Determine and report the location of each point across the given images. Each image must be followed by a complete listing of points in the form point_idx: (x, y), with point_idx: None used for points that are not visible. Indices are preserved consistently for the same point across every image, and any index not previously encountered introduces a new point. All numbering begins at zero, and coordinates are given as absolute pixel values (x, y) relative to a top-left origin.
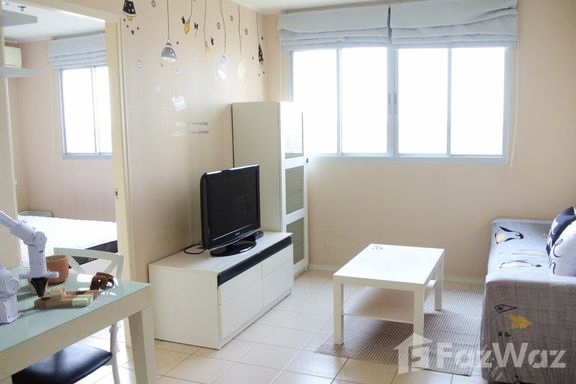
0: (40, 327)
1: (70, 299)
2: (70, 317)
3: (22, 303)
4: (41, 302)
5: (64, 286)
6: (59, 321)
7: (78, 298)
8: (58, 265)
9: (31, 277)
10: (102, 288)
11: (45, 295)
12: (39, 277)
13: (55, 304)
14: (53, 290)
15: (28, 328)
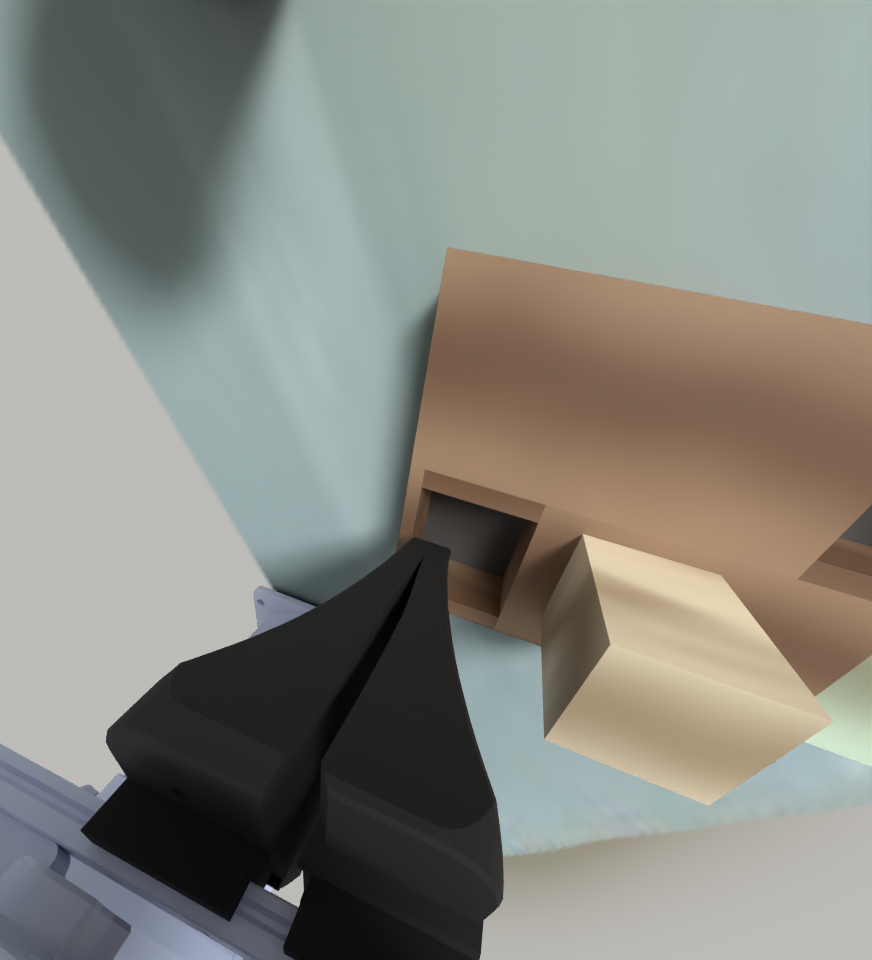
0: (521, 815)
1: None
2: (682, 809)
3: (259, 385)
4: (454, 606)
5: (816, 727)
6: (612, 814)
7: (870, 718)
8: None
9: (93, 865)
10: None
11: (444, 432)
12: (280, 953)
13: None
14: (591, 745)
15: None
